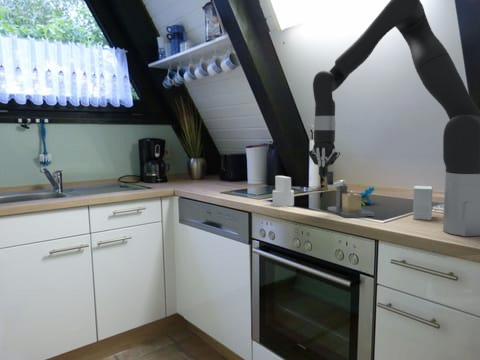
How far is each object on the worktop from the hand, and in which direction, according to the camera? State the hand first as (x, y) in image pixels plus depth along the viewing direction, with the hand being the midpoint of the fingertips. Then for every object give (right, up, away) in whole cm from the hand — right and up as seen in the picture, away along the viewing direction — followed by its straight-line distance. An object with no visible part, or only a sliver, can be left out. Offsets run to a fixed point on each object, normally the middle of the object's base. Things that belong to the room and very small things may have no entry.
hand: (322, 176), depth 130 cm
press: (+10, -13, +2) cm, 17 cm away
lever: (+6, -4, +3) cm, 7 cm away
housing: (+11, -12, 0) cm, 16 cm away
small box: (+32, -14, -8) cm, 36 cm away
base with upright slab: (-12, -12, +21) cm, 27 cm away
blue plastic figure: (+22, -12, +19) cm, 31 cm away
